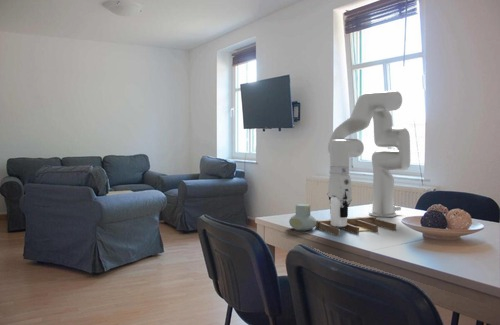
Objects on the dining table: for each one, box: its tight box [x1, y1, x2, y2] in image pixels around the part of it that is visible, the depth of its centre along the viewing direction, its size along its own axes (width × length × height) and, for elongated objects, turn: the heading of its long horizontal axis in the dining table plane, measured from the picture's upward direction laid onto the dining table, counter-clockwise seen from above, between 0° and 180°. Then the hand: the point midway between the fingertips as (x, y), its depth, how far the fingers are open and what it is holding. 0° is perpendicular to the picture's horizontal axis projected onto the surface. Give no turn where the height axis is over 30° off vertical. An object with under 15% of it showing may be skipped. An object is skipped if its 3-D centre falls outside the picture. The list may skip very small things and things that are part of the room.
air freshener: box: [288, 203, 317, 232], centre depth 163 cm, size 11×8×10 cm
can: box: [330, 196, 348, 228], centre depth 161 cm, size 6×6×12 cm
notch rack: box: [314, 215, 397, 237], centre depth 165 cm, size 29×15×3 cm, turn 111°
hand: (338, 215), depth 162 cm, fingers closed on can, 6 cm apart
